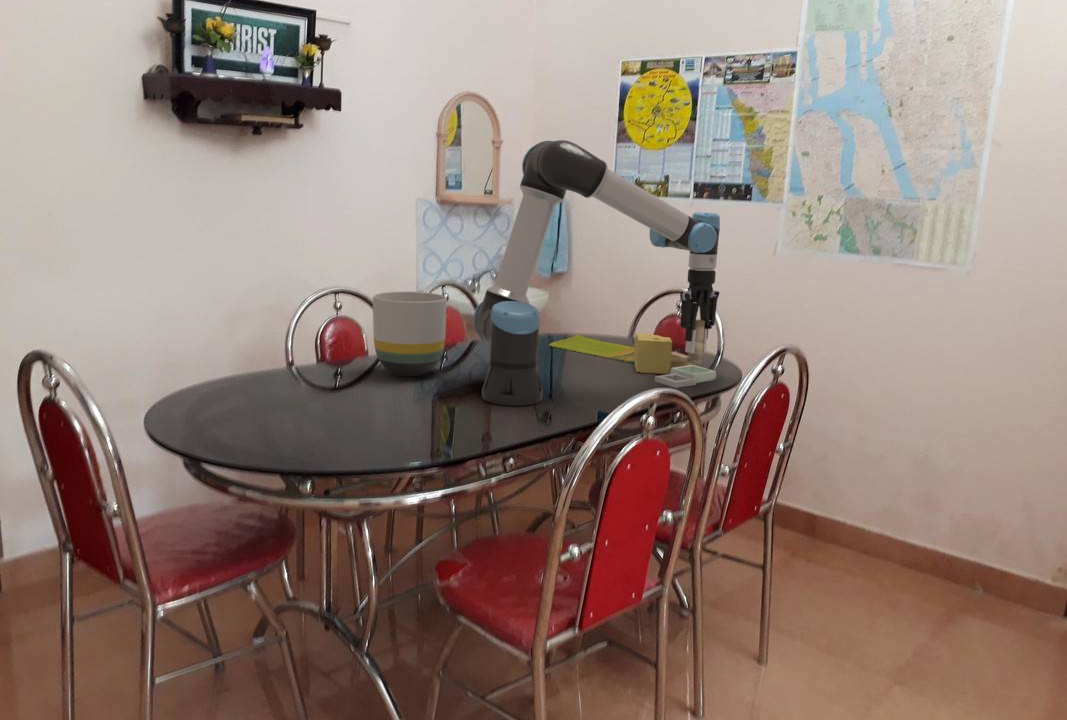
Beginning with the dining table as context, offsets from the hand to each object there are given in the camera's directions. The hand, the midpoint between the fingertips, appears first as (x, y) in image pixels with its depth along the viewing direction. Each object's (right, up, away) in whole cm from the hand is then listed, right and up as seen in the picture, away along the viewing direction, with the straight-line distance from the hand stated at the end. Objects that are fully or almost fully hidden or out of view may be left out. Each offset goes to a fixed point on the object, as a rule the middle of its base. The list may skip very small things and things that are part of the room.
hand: (695, 351), depth 237 cm
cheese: (-11, -6, +10) cm, 16 cm away
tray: (0, -8, +2) cm, 8 cm away
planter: (-80, -6, -8) cm, 80 cm away
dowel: (0, -3, +1) cm, 3 cm away
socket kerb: (-7, -9, -5) cm, 12 cm away
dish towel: (-22, -1, +32) cm, 39 cm away
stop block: (-3, -4, +15) cm, 16 cm away
